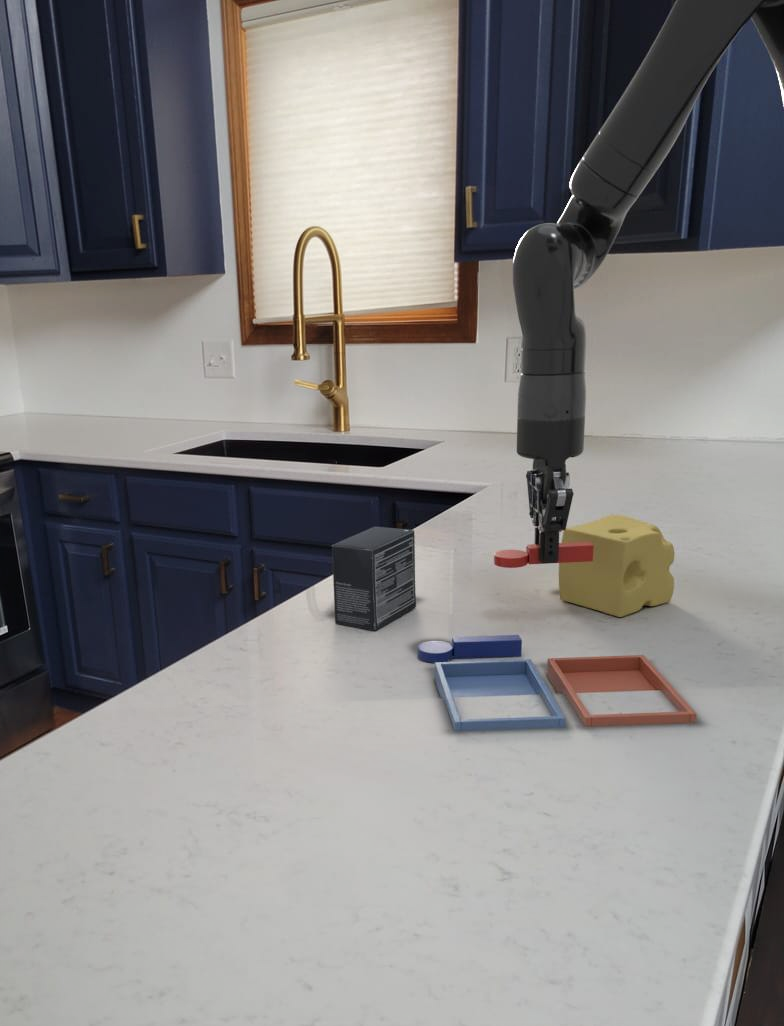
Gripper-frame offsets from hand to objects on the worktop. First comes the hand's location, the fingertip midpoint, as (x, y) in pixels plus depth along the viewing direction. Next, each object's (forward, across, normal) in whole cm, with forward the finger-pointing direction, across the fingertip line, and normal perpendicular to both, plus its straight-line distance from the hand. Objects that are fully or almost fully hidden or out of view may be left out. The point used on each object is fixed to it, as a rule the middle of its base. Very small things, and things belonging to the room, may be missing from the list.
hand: (545, 559), depth 115 cm
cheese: (+8, +7, -11) cm, 15 cm away
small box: (+8, +5, +20) cm, 22 cm away
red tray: (+8, -24, -2) cm, 25 cm away
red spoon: (0, 0, 0) cm, 0 cm away
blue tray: (+8, -24, +10) cm, 27 cm away
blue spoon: (+8, -10, +10) cm, 17 cm away
